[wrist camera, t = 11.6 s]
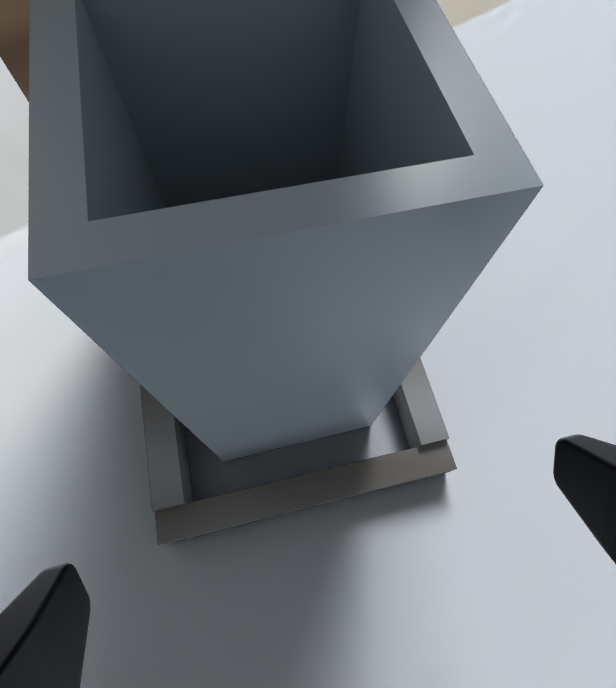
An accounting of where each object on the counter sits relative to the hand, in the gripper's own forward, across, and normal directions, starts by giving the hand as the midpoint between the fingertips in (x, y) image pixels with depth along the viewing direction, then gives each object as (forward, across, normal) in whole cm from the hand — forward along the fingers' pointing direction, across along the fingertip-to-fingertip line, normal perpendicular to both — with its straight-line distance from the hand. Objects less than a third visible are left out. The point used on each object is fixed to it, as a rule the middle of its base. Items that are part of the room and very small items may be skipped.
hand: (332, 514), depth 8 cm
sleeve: (+10, 0, +2) cm, 10 cm away
